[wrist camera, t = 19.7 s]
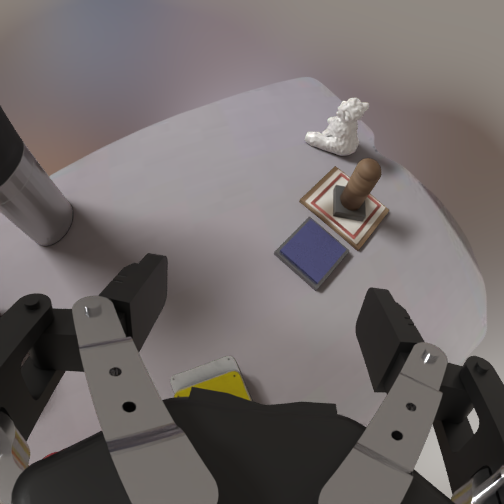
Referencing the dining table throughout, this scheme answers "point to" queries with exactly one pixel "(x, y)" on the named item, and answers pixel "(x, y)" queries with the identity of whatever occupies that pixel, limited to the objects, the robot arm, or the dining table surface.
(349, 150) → the seated beast figurine
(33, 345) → the robot arm
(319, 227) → the ink pad
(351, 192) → the stamp
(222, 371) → the emergency button
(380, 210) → the framed board
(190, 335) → the dining table surface
